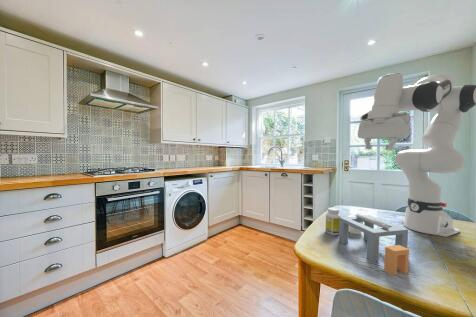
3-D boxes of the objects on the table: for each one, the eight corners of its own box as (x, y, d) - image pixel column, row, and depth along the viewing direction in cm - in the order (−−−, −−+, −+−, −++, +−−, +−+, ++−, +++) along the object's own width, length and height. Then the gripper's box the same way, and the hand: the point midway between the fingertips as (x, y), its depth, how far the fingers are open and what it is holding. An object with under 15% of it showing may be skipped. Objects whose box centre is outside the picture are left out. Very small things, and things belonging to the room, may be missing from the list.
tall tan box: (398, 267, 65) (399, 244, 65) (407, 273, 62) (409, 249, 62) (384, 269, 64) (385, 246, 63) (393, 275, 61) (394, 251, 60)
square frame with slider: (368, 237, 87) (369, 211, 87) (406, 257, 72) (408, 225, 71) (338, 240, 84) (339, 213, 83) (372, 261, 68) (373, 228, 68)
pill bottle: (340, 231, 93) (341, 208, 93) (339, 236, 88) (340, 211, 88) (326, 228, 96) (327, 206, 96) (324, 233, 91) (325, 209, 91)
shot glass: (365, 235, 90) (366, 219, 89) (348, 233, 91) (349, 218, 91) (359, 229, 96) (360, 215, 96) (344, 228, 98) (344, 213, 98)
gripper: (418, 112, 70) (410, 151, 71) (369, 119, 90) (364, 149, 91) (403, 109, 69) (396, 149, 70) (357, 117, 89) (352, 147, 90)
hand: (377, 149), depth 81 cm, fingers open, 8 cm apart
